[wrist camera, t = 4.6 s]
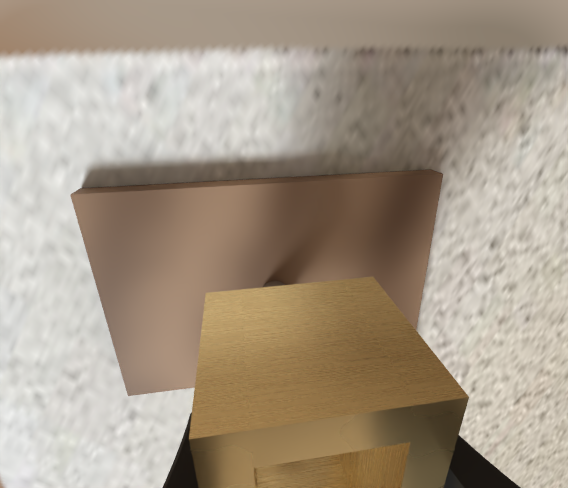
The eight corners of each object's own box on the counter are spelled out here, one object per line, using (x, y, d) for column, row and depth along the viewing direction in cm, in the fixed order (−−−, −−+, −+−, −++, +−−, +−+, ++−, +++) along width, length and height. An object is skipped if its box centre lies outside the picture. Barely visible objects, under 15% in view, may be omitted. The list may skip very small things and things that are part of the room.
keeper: (431, 169, 16) (524, 203, 11) (403, 347, 21) (460, 431, 16) (80, 188, 14) (-4, 241, 9) (132, 381, 19) (96, 489, 14)
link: (205, 293, 10) (188, 439, 6) (373, 276, 10) (468, 397, 6) (230, 471, 13) (230, 645, 9) (355, 450, 13) (410, 604, 9)
